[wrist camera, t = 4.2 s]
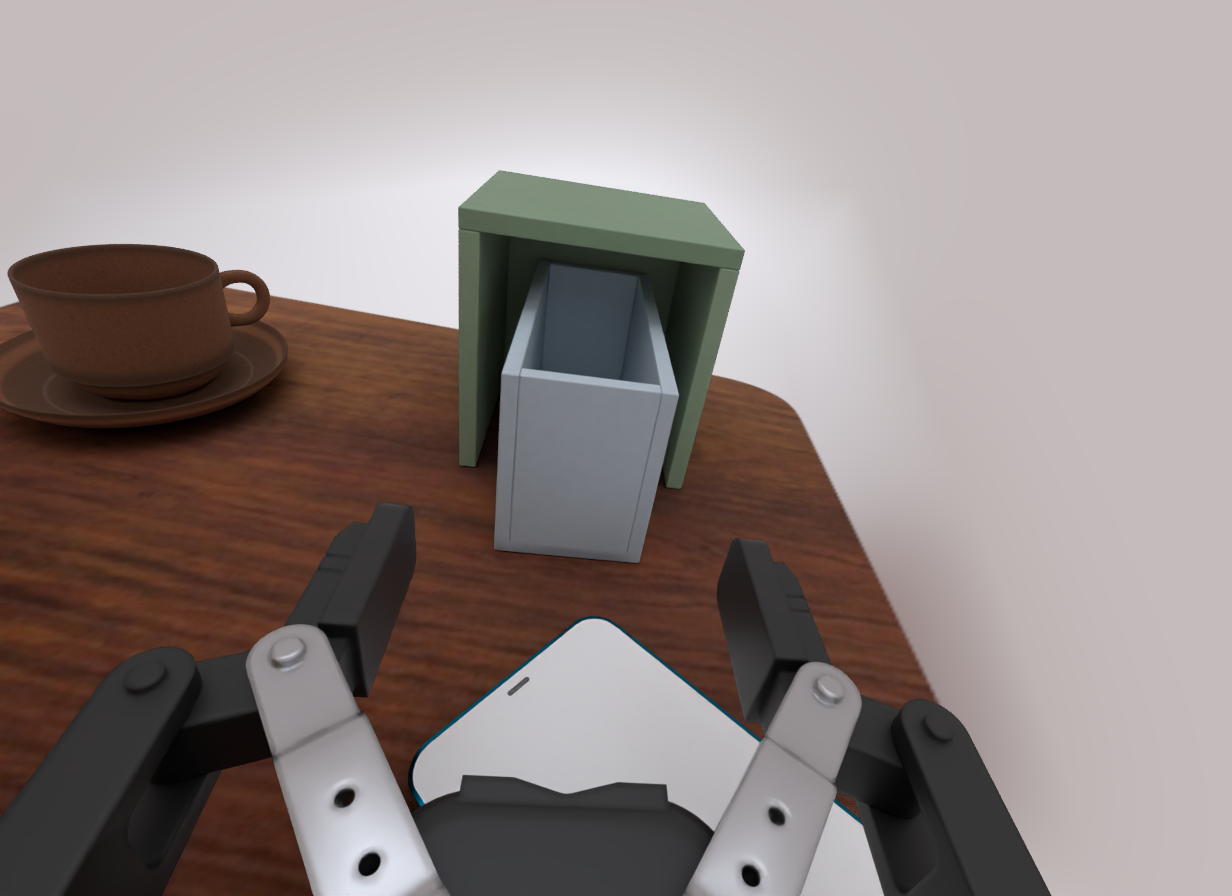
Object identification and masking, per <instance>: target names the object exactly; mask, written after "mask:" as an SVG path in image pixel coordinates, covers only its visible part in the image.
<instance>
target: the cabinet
mask: <svg viewBox="0 0 1232 896" xmlns="http://www.w3.org/2000/svg"><path fill="white" fill-rule="evenodd" d="M458 211H459V212H458V216H459V217H458V218H459V465H462V466H471V467H475V466H476V464H477V461H478V458H479V455H480V452H481V448H482V445H483V442H484V439H485V436H486V433H487V430H488V426H489V423H490V420H491V417H492V414H493V411H494V408H495V405H496V401H497V398H498V395H499V392H500V389H501V374H502V371H503V368H504V365H505V362H506V359H507V356H508V353H509V350H510V347H511V344H512V341H513V338H514V335H515V332H516V329H517V326H518V323H519V320H520V317H521V314H522V311H523V308H524V305H525V302H526V299H527V296H528V293H529V290H530V287H531V284H532V281H533V278H534V275H535V272H536V269H537V266H538V263H539V260H547V261H550V262H551V261H554V262H561V263H568V264H575V265H582V266H589V267H596V268H603V269H610V270H616V271H623V272H630V273H637V274H645V275H649V278H650V282H651V286H652V290H653V294H654V298H655V302H656V306H657V310H658V314H659V318H660V322H661V326H662V330H663V334H664V338H665V342H666V346H667V350H668V354H669V358H670V362H671V366H672V370H673V374H674V378H675V382H676V386H677V390H678V393H679V398H678V402H677V406H676V410H675V414H674V419H673V423H672V427H671V431H670V435H669V440H668V444H667V448H666V452H665V456H664V461H663V471H664V477H665V484H666V487H669V488H678V489H681V487H682V484H683V480H684V476H685V473H686V469H687V465H688V461H689V458H690V454H691V450H692V446H693V443H694V439H695V435H696V432H697V428H698V424H699V420H700V417H701V413H702V409H703V405H704V402H705V398H706V394H707V390H708V387H709V383H710V379H711V376H712V372H713V368H714V364H715V360H716V357H717V353H718V349H719V345H720V342H721V338H722V334H723V331H724V327H725V323H726V319H727V316H728V312H729V308H730V305H731V301H732V297H733V293H734V289H735V286H736V282H737V278H738V275H739V270H740V267H741V263H742V260H743V256H744V252H745V250H744V249H743V248H742V247H741V246H740V244H739V243H738V242H737V241H736V240H735V238H733V236H732V235H731V234H730V233H729V231H728V230H727V229H726V228H725V227H724V226H723V224H721V222H720V221H719V220H718V219H717V217H716V216H715V215H714V214H713V213H712V211H711V210H710V209H709V208H708V207H707V206H706V204H705V203H700V202H694V201H687V200H682V199H675V198H669V197H662V196H657V195H650V194H644V193H638V192H632V191H625V190H619V189H612V188H606V187H600V186H594V185H588V184H581V183H575V182H569V181H562V180H556V179H550V178H544V177H538V176H532V175H525V174H519V173H513V172H506V171H498V172H497V173H496V174H495V175H494V176H492V177H491V178H490V179H489V180H488V181H487V182H486V183H485V184H484V185H483V186H482V187H480V188H479V189H478V190H477V191H476V192H475V193H474V194H473V195H472V196H470V197H469V198H468V199H467V200H466V201H465V202H464V203H463V204H462V205H461V206H459V208H458Z"/></svg>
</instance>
